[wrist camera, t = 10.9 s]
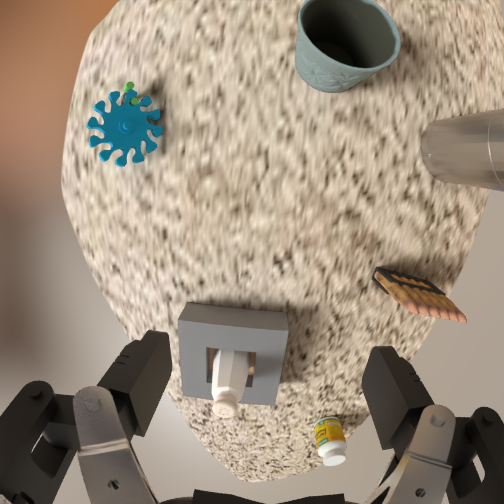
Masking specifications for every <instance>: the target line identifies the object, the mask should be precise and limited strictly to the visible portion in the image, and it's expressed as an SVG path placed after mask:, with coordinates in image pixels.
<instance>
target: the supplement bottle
mask: <svg viewBox="0 0 504 504" xmlns="http://www.w3.org/2000/svg"><path fill="white" fill-rule="evenodd" d="M314 432H315V438H316V444H317V450H318V454H319V455H320V456H321V457H323V463H324V465H326V466H334V465H338V464H340V463H342V462H344V461H345V459H346V456H345V452H344V451H345V450H346V448H347V445H346V441H345V437H344V433H343V430H342V426H341V423H340V420H339V419H338V418H337V417H332V416H330V417H324V418H322V419H320V420H318V421H317V422H316V423H315V425H314Z"/></svg>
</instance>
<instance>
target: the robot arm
mask: <svg viewBox="0 0 504 504" xmlns="http://www.w3.org/2000/svg"><path fill="white" fill-rule="evenodd" d="M421 151H422V156H423V159H424V162H425V165H426V167H427V169H428V170H429V171H430V173H431V174H432V175H433V176H434V177H435V178H436V179H438V180H440V181H442V182H447V183H454V184H461V185H468V186H475V187H481V188H487V189H493V190H499V191H504V109H498V110H492V111H486V112H480V113H474V114H469V115H463V116H458V117H453V118H448V119H443V120H439V121H434V122H432V123H430V124H429V125H428V126H427V127H426V129H425V131H424V133H423V136H422V141H421ZM171 372H172V359H171V350H170V342H169V335H168V333H166V332H160V331H154V330H148V331H147V332H146V334H145V335H144V337H143V338H142V339H141V341H140V340H134V341H133V342H131V343H129V344H128V345H126V346H125V347H124V349H123V350H122V351H121V353H120V355H119V356H118V357H117V358H116V360H115V362H113V364H112V365H111V366H110V368H109V369H108V371H107V372H106V373H105V375H104V376H103V377H102V379H101V380H100V382H99V383H98V384H97V386H89V387H85V388H83V389H81V390H79V391H78V392H77V393H76V395H75V396H71V395H61V394H55V393H54V391H53V389H52V387H51V386H50V384H48V383H47V382H44V381H33V382H30V383H28V384H26V385H25V386H24V387H23V388H22V390H21V391H20V392H19V393H18V394H17V396H16V397H15V398H14V400H13V401H12V402H11V403H10V405H9V406H8V407H7V408H6V410H5V411H4V412H3V414H2V415H1V416H0V504H52V503H53V501H54V499H55V496H56V494H57V492H58V489H59V488H60V485H61V483H62V481H63V479H64V477H65V474H66V472H67V470H68V468H69V466H70V464H71V462H72V460H73V457H74V456H75V454H76V452H77V455H78V460H79V465H80V469H81V472H82V476H83V480H84V483H85V486H86V490H87V493H88V496H89V499H90V502H91V504H264V503H259V502H256V501H252V500H249V499H245V498H242V497H238V496H235V495H232V494H223V493H215V492H208V491H201V490H196V489H195V490H194V494H193V497H182V498H175V499H170V500H167V501H163V502H161V503H159V501H158V499H157V497H156V495H155V494H154V492H153V490H152V488H151V486H150V484H149V482H148V480H147V478H146V476H145V474H144V472H143V470H142V468H141V465H140V463H139V461H138V459H137V456H136V454H135V452H134V449H133V447H132V444H131V439H132V437H133V435H138V436H142V437H144V436H145V433H146V431H147V429H148V426H149V424H150V422H151V419H152V417H153V415H154V413H155V410H156V408H157V406H158V404H159V401H160V399H161V397H162V395H163V392H164V390H165V388H166V386H167V383H168V381H169V379H170V376H171ZM362 390H363V393H364V396H365V399H366V401H367V404H368V407H369V410H370V413H371V416H372V419H373V422H374V425H375V428H376V431H377V434H378V437H379V440H380V443H381V447H382V450H386V449H391V448H394V451H395V453H394V454H393V456H392V457H391V460H390V462H389V463H388V465H387V467H386V469H385V471H384V473H383V475H382V477H381V479H380V480H379V482H378V484H377V486H376V487H375V489H374V491H373V492H372V494H371V495H370V496H369V498H368V499H367V500H366V501H365V503H364V504H441V502H442V499H443V497H444V494H445V491H446V493H447V497H448V500H449V504H504V423H503V422H502V420H501V418H500V416H499V415H498V413H497V412H496V411H494V410H493V409H491V408H488V407H480V408H478V409H476V410H475V412H474V413H473V415H472V416H471V417H455V416H454V414H453V413H452V411H451V410H450V409H448V408H447V407H445V406H442V405H435V404H434V402H433V400H432V398H431V397H430V395H429V393H428V392H427V390H426V388H425V387H424V385H423V383H422V382H421V381H420V378H419V376H418V375H416V372H415V370H414V368H413V367H412V365H411V364H410V363H409V362H408V361H406V360H405V359H404V358H403V357H399V356H398V354H397V352H396V351H395V349H394V348H393V347H392V346H375V347H373V349H372V351H371V353H370V356H369V359H368V362H367V365H366V368H365V371H364V374H363V377H362ZM41 434H43V435H42V437H41V438H40V440H39V441H38V443H37V445H36V447H35V448H34V450H33V452H32V449H33V447H34V445H35V443H36V442H37V440H38V439H39V437H40V435H41ZM77 450H78V451H77ZM31 452H32V453H31ZM477 454H478V457H479V459H480V461H481V463H482V466H483V468H484V471H485V477H484V480H483V481H482V483H481V480H480V478H479V475H478V472H477V470H476V468H475V465H474V463H473V459H474V458H475V456H476V455H477ZM279 504H358V503H353V502H348V501H345V499H344V494H334V495H324V496H309V497H305V498H301V499H297V500H292V501H288V502H284V503H279Z"/></svg>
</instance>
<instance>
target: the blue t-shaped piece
mask: <svg viewBox="0 0 504 504" xmlns="http://www.w3.org/2000/svg"><path fill="white" fill-rule="evenodd" d="M133 87H134V83H133V82H128V83H127V84H126V85H125V86H124V88H123V90H124V91H125V92H126V93H124V94H123V96H122V98H121V102H120V103H119V105H120V106H118V105H117V104H116V100H117V99H118V98H119V97H120V92H118V91H115V92H111V93H110V94H109V100H110V102H111V112H110V113H107V112H105V102H104V101H103V100H102V101H100V102H98V103H97V104H96V105H95V106H94V110H95V111H96V112H98V113H100V114H101V116H102V117H103V120H104V124H103V125H100V124H98V121H97V119H96V118H95V117H91V118H90V120H89V121H88V123H87V126H86V127H87V128H88V129H98V130H100V131H101V132H103V133H104V138H103V139H100V138H99V137H97V136H95V135H93V136H91V137H90V138H89V145H90V147H95V146H96V145H98V144H100V143H109V144H110V145H111V150H103V151H101V152H100V153H99V157H100V159H101V160H102V161H103V162H105V161H107V160H108V159H109V157H110V155H111V154H112V152H113V151H115V150H117V149H121V150H122V151H123V155H122V156H121V157H119V158H117V159H116V160H115V164H116V165H117V166H120V167H124V166H125V165H126V163H127V154H128V152H129V150H130V149H131V148H134V149H135V151H136V153H135V155H134V156H133V158H132V161H133V163H139V162H142V161H144V156H143V154H142V152H141V148H140V146H141V141H145V142H146V151H147V152H148V153H150V152H152V151H154V150H155V149H156V148H157V144H156V143H154V142H153V141H151V140H150V138H149V137H148V134H147V129H149V130H151V132H152V134H153V136H154V137H158V136H160V135H161V133H162V131H163V128H162V127H161V126H153V125H151V124H150V123H149V122H147V120H146V118H147V117H150V118H151V119H152V120H157V119H159V118H160V110H158V109H157V110H154V111H152V112H142V111H141V110H140V106H143V107H147V106H149V105H150V104H151V103H152V101H151V99H150V98H149V97H148V96H145V97H144V98H143V99H142V100H141V102H140V103H139V104H138V102H139V100H138V99H137V98H135V97H136V96H137V92H136V91H134V90H132V88H133Z"/></svg>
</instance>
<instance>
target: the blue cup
mask: <svg viewBox="0 0 504 504" xmlns="http://www.w3.org/2000/svg"><path fill="white" fill-rule="evenodd" d="M400 48H401V39H400V34H399V31H398V29H397V26H396V24H395V23H394V21H393V20H392V18H391V17H390V16H389V14H388V13H387V12H386V11H385V10H384V9H383V8H382V7H380V6H379V5H378V4H376V3H375V2H374V1H372V0H306V1H305V2H304V3H303V5H302V6H301V8H300V11H299V15H298V35H297V43H296V53H295V65H296V69H297V71H298V73H299V75H300V76H301V77H302V79H303V80H304V81H305V82H306V83H307V84H309V85H310V86H311V87H313V88H315V89H317V90H320V91H322V92H327V93H337V92H342V91H345V90H347V89H349V88H350V87H352V86H354V85H355V84H357V83H359V82H360V81H362V80H364V79H366V78H367V77H369V76H371V75H372V74H374V73H376V72H378V71H380V70H382V69H383V68H385V67H387V66H389V65H390V64H391V63H392V62H393V61H394V60H395V59H396V58H397V56H398V54H399V51H400Z"/></svg>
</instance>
